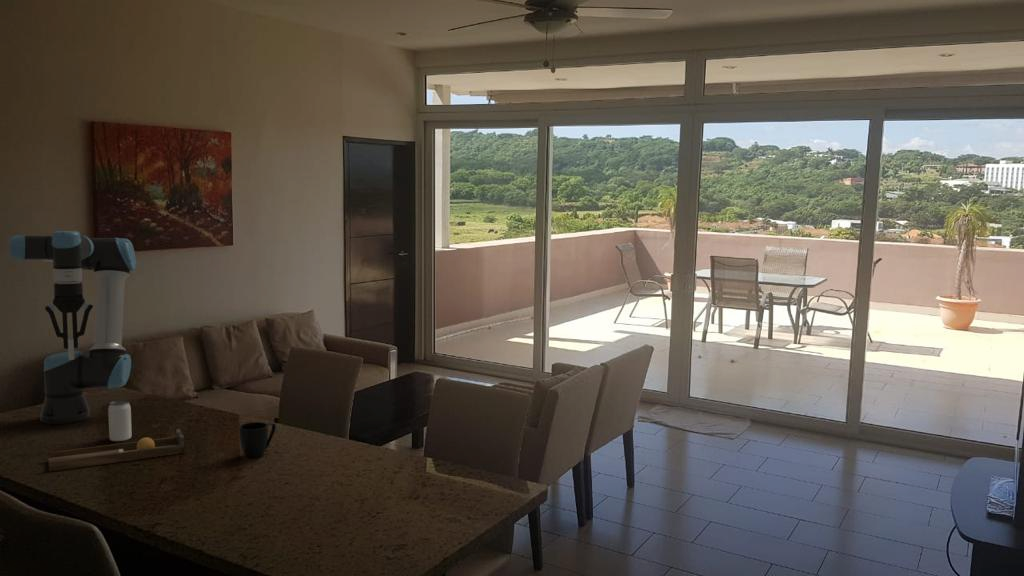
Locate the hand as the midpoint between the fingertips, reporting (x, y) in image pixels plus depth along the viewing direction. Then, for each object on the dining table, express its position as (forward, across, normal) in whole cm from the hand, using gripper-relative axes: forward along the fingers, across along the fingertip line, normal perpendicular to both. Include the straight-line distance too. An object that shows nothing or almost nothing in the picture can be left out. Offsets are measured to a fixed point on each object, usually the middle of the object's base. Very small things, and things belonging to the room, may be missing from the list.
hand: (71, 358), depth 240 cm
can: (+29, +13, +5) cm, 32 cm away
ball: (+26, +18, -15) cm, 35 cm away
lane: (+28, +11, -14) cm, 34 cm away
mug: (+29, +49, -30) cm, 64 cm away
